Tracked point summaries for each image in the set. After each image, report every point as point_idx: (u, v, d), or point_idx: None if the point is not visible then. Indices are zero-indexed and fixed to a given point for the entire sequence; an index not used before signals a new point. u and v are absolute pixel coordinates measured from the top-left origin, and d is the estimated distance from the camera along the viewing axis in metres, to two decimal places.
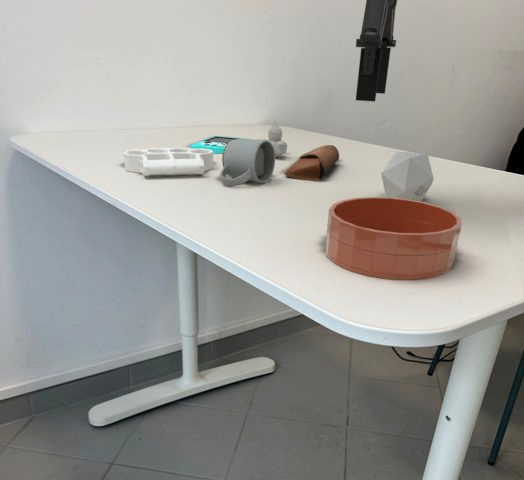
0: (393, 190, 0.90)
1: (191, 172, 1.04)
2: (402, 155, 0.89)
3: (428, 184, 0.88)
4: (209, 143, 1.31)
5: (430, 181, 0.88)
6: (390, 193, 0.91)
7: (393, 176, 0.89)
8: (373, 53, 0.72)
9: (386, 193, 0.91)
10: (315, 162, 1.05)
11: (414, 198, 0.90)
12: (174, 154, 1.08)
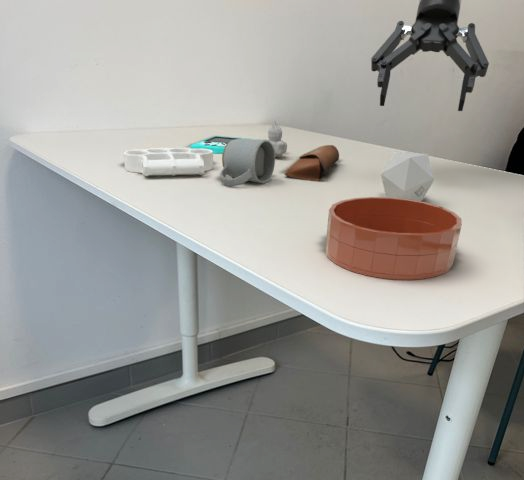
0: (393, 190, 0.90)
1: (191, 172, 1.04)
2: (402, 155, 0.89)
3: (428, 184, 0.88)
4: (209, 143, 1.31)
5: (430, 181, 0.88)
6: (390, 193, 0.91)
7: (393, 176, 0.89)
8: (379, 70, 0.97)
9: (386, 193, 0.91)
10: (315, 162, 1.05)
11: (414, 198, 0.90)
12: (174, 154, 1.08)
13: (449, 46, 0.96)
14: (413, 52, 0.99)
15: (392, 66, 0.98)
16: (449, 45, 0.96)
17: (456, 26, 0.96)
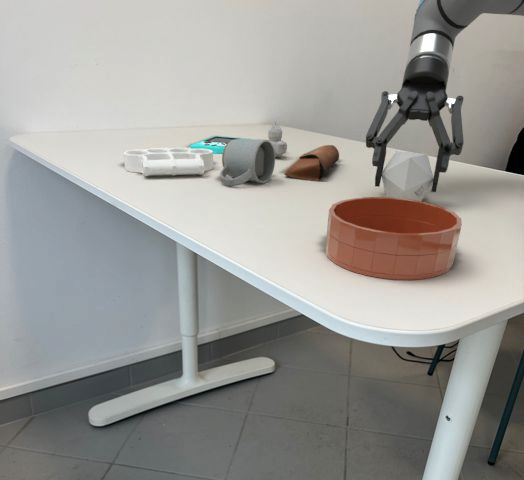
0: (393, 190, 0.90)
1: (191, 172, 1.04)
2: (402, 155, 0.89)
3: (428, 184, 0.88)
4: (209, 143, 1.31)
5: (430, 181, 0.88)
6: (390, 193, 0.91)
7: (393, 176, 0.89)
8: None
9: (386, 193, 0.91)
10: (315, 162, 1.05)
11: (414, 198, 0.90)
12: (174, 154, 1.08)
13: (431, 117, 0.91)
14: (404, 122, 0.93)
15: (387, 141, 0.92)
16: (431, 116, 0.90)
17: (444, 94, 0.91)
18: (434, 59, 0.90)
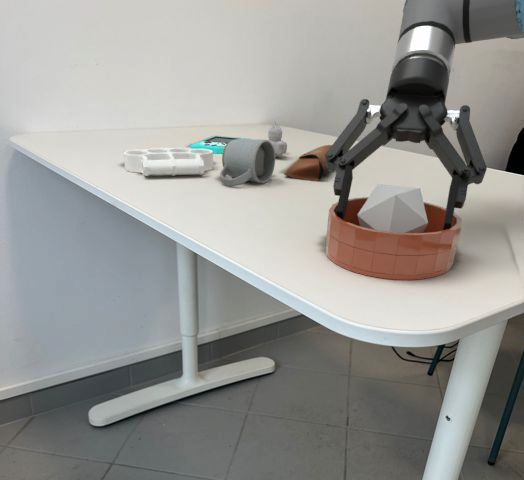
0: None
1: (191, 172, 1.04)
2: (385, 190, 0.65)
3: (421, 230, 0.65)
4: (209, 143, 1.31)
5: (423, 226, 0.65)
6: None
7: (373, 218, 0.65)
8: None
9: None
10: (315, 162, 1.05)
11: None
12: (174, 154, 1.08)
13: (432, 137, 0.67)
14: (384, 142, 0.70)
15: (355, 164, 0.69)
16: (432, 136, 0.67)
17: (443, 108, 0.67)
18: (429, 61, 0.67)
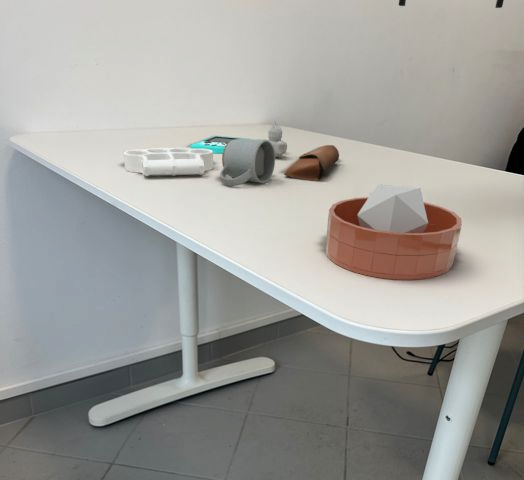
0: None
1: (191, 172, 1.04)
2: (385, 190, 0.65)
3: (421, 230, 0.65)
4: (209, 143, 1.31)
5: (423, 226, 0.65)
6: None
7: (373, 218, 0.65)
8: None
9: None
10: (315, 162, 1.05)
11: None
12: (174, 154, 1.08)
13: None
14: None
15: None
16: None
17: None
18: None
